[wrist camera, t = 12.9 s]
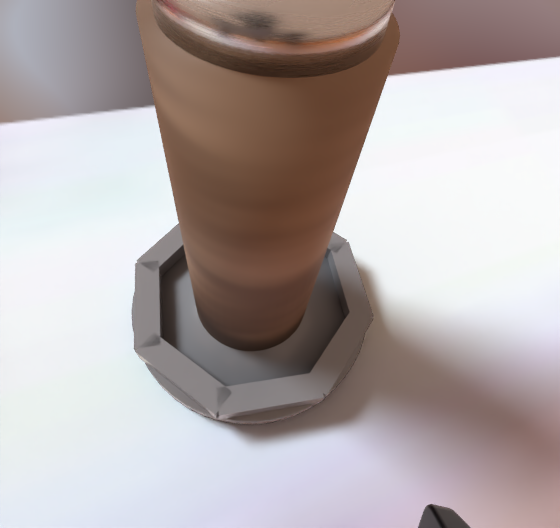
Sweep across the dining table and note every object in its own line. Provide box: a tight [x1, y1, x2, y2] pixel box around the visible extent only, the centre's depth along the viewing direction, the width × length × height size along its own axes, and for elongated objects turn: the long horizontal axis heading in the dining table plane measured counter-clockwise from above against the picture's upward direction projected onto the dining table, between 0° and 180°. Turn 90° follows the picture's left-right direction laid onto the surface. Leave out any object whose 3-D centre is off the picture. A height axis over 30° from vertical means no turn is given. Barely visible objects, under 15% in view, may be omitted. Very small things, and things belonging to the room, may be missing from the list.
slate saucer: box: [132, 224, 373, 424], centre depth 17 cm, size 11×11×2 cm
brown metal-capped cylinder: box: [136, 0, 400, 351], centre depth 12 cm, size 5×5×13 cm
